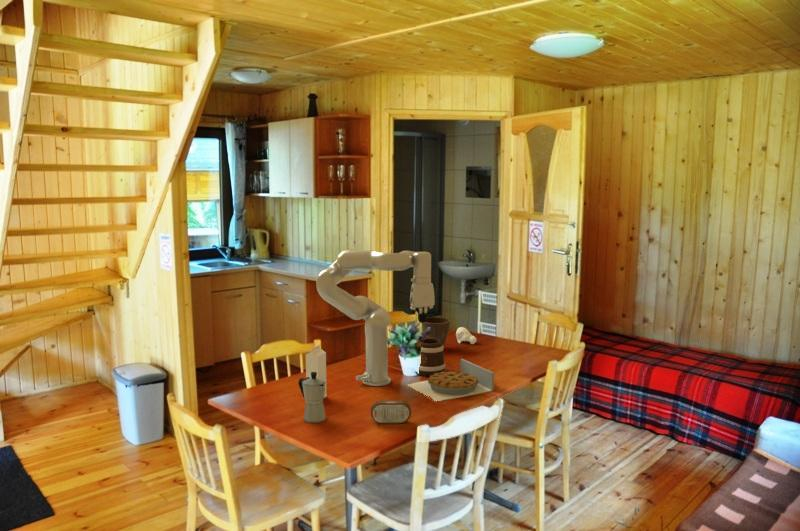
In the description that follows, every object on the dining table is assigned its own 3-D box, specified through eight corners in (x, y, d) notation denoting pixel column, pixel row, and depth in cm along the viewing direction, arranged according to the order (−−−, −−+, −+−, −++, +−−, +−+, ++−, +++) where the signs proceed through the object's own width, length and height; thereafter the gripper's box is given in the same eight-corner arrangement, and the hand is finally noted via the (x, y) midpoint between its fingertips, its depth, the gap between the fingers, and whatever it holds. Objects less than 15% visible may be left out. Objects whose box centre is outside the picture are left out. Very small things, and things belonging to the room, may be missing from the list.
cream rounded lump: (460, 325, 346) (479, 330, 340) (459, 339, 348) (478, 344, 341) (455, 327, 341) (474, 332, 335) (453, 342, 343) (472, 347, 336)
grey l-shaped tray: (435, 403, 249) (435, 382, 248) (407, 386, 270) (407, 367, 269) (493, 392, 263) (493, 372, 261) (462, 376, 284) (462, 358, 282)
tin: (411, 421, 229) (411, 399, 228) (411, 424, 226) (411, 402, 225) (370, 421, 229) (370, 399, 227) (370, 424, 225) (370, 402, 224)
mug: (452, 373, 287) (452, 341, 285) (427, 379, 278) (428, 347, 276) (424, 363, 303) (425, 333, 301) (400, 368, 294) (400, 338, 292)
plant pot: (450, 353, 322) (451, 323, 320) (422, 353, 321) (422, 323, 319) (448, 345, 336) (448, 317, 334) (421, 345, 336) (421, 317, 334)
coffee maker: (334, 419, 230) (334, 373, 228) (316, 426, 224) (315, 378, 221) (308, 409, 240) (308, 365, 238) (291, 416, 233) (289, 370, 231)
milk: (306, 399, 252) (305, 347, 249) (314, 394, 258) (313, 343, 255) (318, 401, 249) (317, 348, 247) (327, 396, 255) (325, 345, 252)
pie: (466, 399, 250) (466, 387, 249) (418, 391, 261) (419, 379, 260) (486, 384, 269) (486, 373, 268) (440, 377, 280) (440, 366, 279)
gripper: (410, 282, 258) (409, 325, 261) (441, 280, 264) (441, 322, 267) (402, 280, 265) (402, 321, 267) (433, 278, 271) (433, 318, 274)
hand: (421, 322), depth 267 cm, fingers closed
